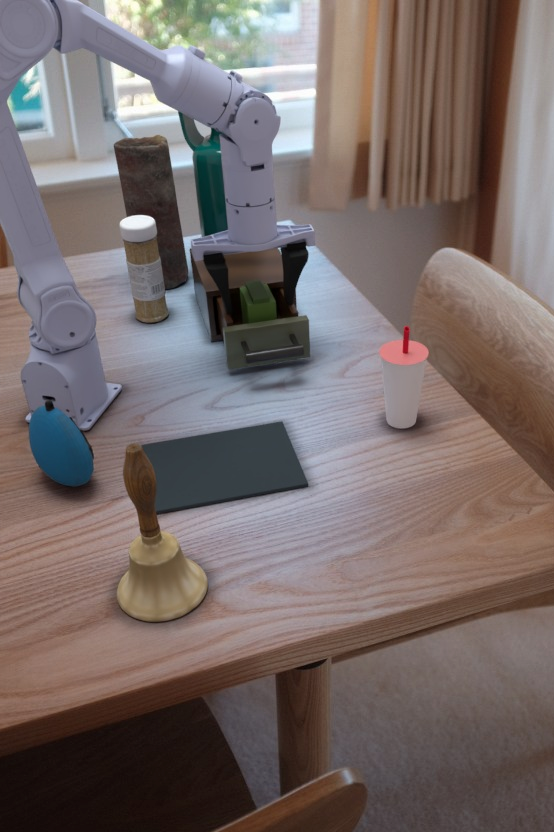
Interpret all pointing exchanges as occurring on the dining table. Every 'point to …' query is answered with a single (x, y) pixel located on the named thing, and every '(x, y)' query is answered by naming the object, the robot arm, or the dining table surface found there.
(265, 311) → the green stepped block
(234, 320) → the drawer
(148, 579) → the hand bell
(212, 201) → the pitcher
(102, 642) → the dining table surface
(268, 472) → the mat
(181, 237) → the candle
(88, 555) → the dining table surface
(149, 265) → the sprinkles bottle
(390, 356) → the cup
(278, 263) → the cabinet
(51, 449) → the ornament
